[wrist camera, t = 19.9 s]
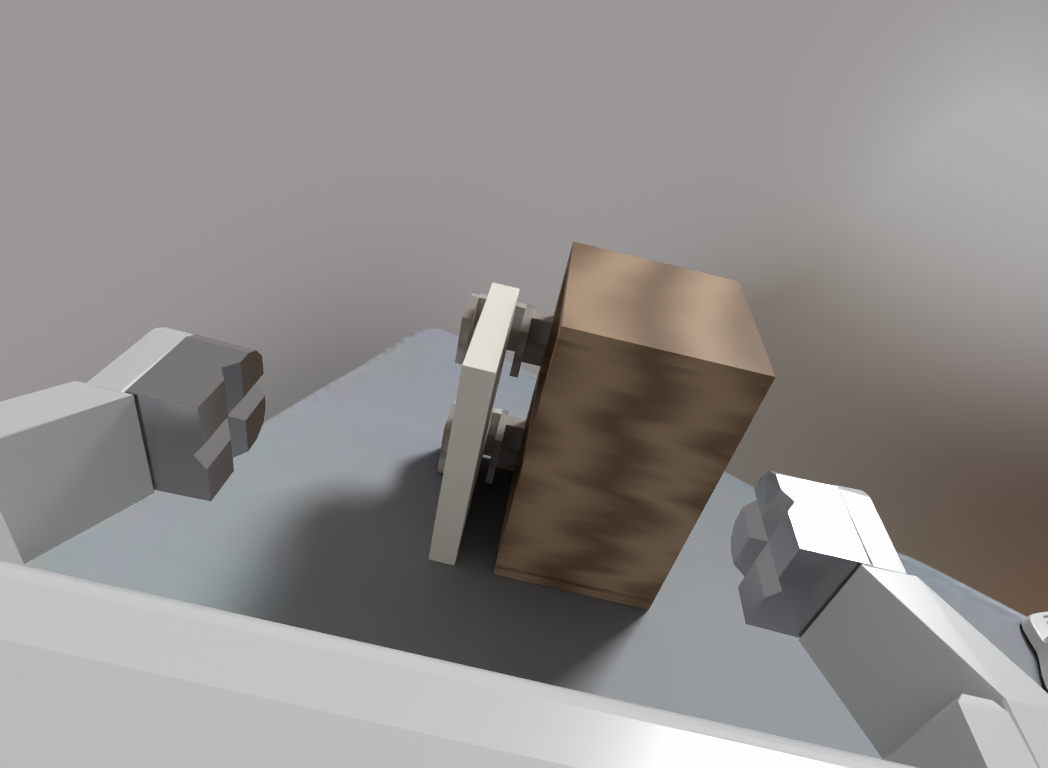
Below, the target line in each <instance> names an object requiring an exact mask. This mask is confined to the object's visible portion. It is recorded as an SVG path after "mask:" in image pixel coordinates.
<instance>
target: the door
mask: <svg viewBox="0 0 1048 768" xmlns="http://www.w3.org/2000/svg"><path fill="white" fill-rule="evenodd" d="M518 294H519V289H517V288H514V287H509V286H505V285H501V284H497V283H492V286H491V289H490V291H489V294H488V297H487V299H486V302H485V305H484V307H483V310H482V313H481V316H480V318H479V321H478V324H477V326H476V329H475V332H474V335H473V337H472V340H471V343H470V345H469V348H468V351H467V353H466V356H465V359H464V362H463V364H462V369H461V375H460V381H459V386H458V392H457V398H456V404H455V409H454V415H453V421H452V427H451V432H450V438H449V444H448V450H447V455H446V461H445V467H444V473H443V478H442V484H441V490H440V496H439V501H438V507H437V513H436V519H435V524H434V530H433V536H432V542H431V547H430V553H429V560H433V561H437V562H442V563H446V564H450V565H455V561H456V558H457V554H458V550H459V546H460V542H461V538H462V535H463V531H464V527H465V523H466V519H467V516H468V512H469V508H470V504H471V500H472V496H473V493H474V489H475V485H476V481H477V477H478V473H479V470H480V466H481V461H482V457H483V452H484V448H485V443H486V439H487V434H488V430H489V425H490V421H491V416H492V411H493V407H494V402H495V398H496V393H497V389H498V384H499V380H500V375H501V371H502V366H503V362H504V357H505V353H506V348H507V344H508V339H509V335H510V330H511V326H512V321H513V317H514V312H515V308H516V303H517V298H518Z"/></svg>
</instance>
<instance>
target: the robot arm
mask: <svg viewBox="0 0 1048 768" xmlns="http://www.w3.org/2000/svg"><path fill="white" fill-rule="evenodd" d="M262 375H263V363H262V356H261V355H260V354H259V353H258V352H257V351H256V350H253V349H249V348H245V347H241V346H238V345H233V344H230V343H226V342H222V341H218V340H214V339H210V338H206V337H202V336H199V335H192V334H190V333H186V332H181V331H178V330H173V329H169V328H165V327H161V328H155V329H153V330H151V331H150V332H149V333H148V334H147V335H145V336H144V337H143V338H142V339H140V340H139V341H138V342H137V343H135V344H134V345H133V346H132V347H131V348H129V349H128V350H127V351H125V352H124V353H123V354H122V355H120V356H119V357H118V358H117V359H116V360H114V361H113V362H112V363H110V364H109V365H108V366H107V367H105V368H104V369H103V370H102V371H100V372H99V373H98V374H97V375H96V376H94V377H93V378H92V379H91V380H89V381H88V382H87V383H82V382H77V381H74V382H70V383H67V384H63V385H59V386H55V387H52V388H48V389H45V390H41V391H38V392H34V393H30V394H27V395H23V396H19V397H16V398H12V399H9V400H5V401H2V402H0V768H1048V693H1047V692H1046V691H1044V690H1043V689H1042V688H1041V687H1040V686H1039V685H1038V684H1037V683H1036V682H1034V681H1033V680H1032V679H1031V678H1030V677H1029V676H1028V675H1027V674H1025V673H1024V672H1023V671H1022V670H1021V669H1020V668H1019V667H1018V666H1016V665H1015V664H1014V663H1013V662H1012V661H1011V660H1010V659H1009V658H1008V657H1006V656H1005V655H1004V654H1003V653H1002V652H1001V651H1000V650H999V649H997V648H996V647H995V646H994V645H993V644H992V643H991V642H990V641H989V640H987V639H986V638H985V637H984V636H983V635H982V634H981V633H980V632H978V631H977V630H976V629H975V628H974V627H973V626H972V625H971V624H969V623H968V622H967V621H966V620H965V619H964V618H963V617H962V616H961V615H959V614H958V613H957V612H956V611H955V610H954V609H953V608H952V607H950V606H949V605H948V604H947V603H946V602H945V601H944V600H943V599H942V598H940V597H939V596H938V595H937V594H936V593H935V592H934V591H933V590H931V589H930V588H929V587H928V586H927V585H926V584H925V583H924V582H922V581H921V580H920V579H919V578H918V577H917V576H913V575H909V574H907V573H906V571H905V569H904V567H903V565H902V563H901V561H900V559H899V557H898V555H897V553H896V551H895V549H894V546H893V544H892V542H891V540H890V538H889V536H888V534H887V532H886V530H885V528H884V526H883V524H882V521H881V519H880V517H879V515H878V513H877V511H876V509H875V507H874V505H873V503H872V501H871V499H870V497H869V496H868V495H867V494H866V493H865V492H863V491H861V490H856V489H852V488H847V487H842V486H837V485H832V484H831V485H827V484H823V483H819V482H815V481H810V480H806V479H802V478H797V477H793V476H789V475H784V474H780V473H776V472H771V471H768V472H767V473H766V474H764V475H763V476H762V477H761V478H760V480H759V481H758V483H757V485H756V486H755V488H754V489H755V493H756V497H757V500H756V501H754V502H752V503H750V504H748V505H746V506H744V507H743V508H742V510H741V511H740V513H739V515H738V517H737V519H736V521H735V524H734V528H733V532H732V537H731V552H732V558H733V563H734V565H735V566H736V567H737V568H738V569H739V571H740V572H741V573H742V574H743V575H744V576H745V577H744V579H743V580H742V582H741V583H740V585H739V587H738V588H739V593H740V598H741V603H742V608H743V613H744V617H745V622H746V624H748V625H752V626H756V627H760V628H764V629H768V630H772V631H775V632H779V633H783V634H787V635H791V636H795V637H799V638H800V639H799V641H800V643H801V644H802V646H803V647H804V649H805V650H806V651H807V653H808V654H809V656H810V657H811V658H812V660H813V661H814V663H815V664H816V665H817V667H818V668H819V670H820V671H821V672H822V674H823V675H824V677H825V678H826V679H827V681H828V682H829V684H830V685H831V687H832V688H833V689H834V691H835V692H836V694H837V695H838V696H839V698H840V699H841V701H842V702H843V703H844V705H845V706H846V708H847V709H848V710H849V712H850V713H851V715H852V716H853V718H854V719H855V720H856V722H857V723H858V725H859V726H860V727H861V729H862V730H863V732H864V733H865V734H866V736H867V737H868V739H869V740H870V741H871V743H872V744H873V746H874V747H875V749H876V750H877V751H878V753H879V754H880V756H881V757H882V758H883V759H878V758H874V757H869V756H865V755H861V754H856V753H852V752H847V751H843V750H838V749H834V748H830V747H825V746H821V745H816V744H812V743H808V742H803V741H799V740H794V739H790V738H785V737H781V736H777V735H772V734H768V733H763V732H759V731H755V730H750V729H746V728H741V727H737V726H732V725H728V724H723V723H719V722H715V721H710V720H706V719H701V718H697V717H692V716H688V715H683V714H679V713H674V712H670V711H666V710H661V709H657V708H652V707H648V706H643V705H639V704H634V703H630V702H626V701H621V700H617V699H612V698H608V697H603V696H599V695H594V694H590V693H586V692H581V691H577V690H572V689H568V688H563V687H559V686H554V685H550V684H546V683H541V682H537V681H532V680H528V679H524V678H519V677H515V676H510V675H506V674H501V673H497V672H493V671H488V670H484V669H479V668H475V667H471V666H466V665H462V664H457V663H453V662H449V661H444V660H440V659H435V658H431V657H426V656H422V655H418V654H413V653H409V652H404V651H400V650H396V649H391V648H387V647H382V646H378V645H374V644H369V643H365V642H360V641H356V640H351V639H347V638H343V637H338V636H334V635H329V634H325V633H321V632H316V631H312V630H307V629H303V628H298V627H294V626H290V625H285V624H281V623H276V622H272V621H267V620H263V619H259V618H254V617H250V616H245V615H241V614H237V613H232V612H228V611H223V610H219V609H214V608H210V607H206V606H201V605H197V604H192V603H188V602H183V601H179V600H175V599H170V598H166V597H161V596H157V595H152V594H148V593H144V592H139V591H135V590H130V589H126V588H121V587H117V586H113V585H108V584H104V583H99V582H95V581H90V580H86V579H82V578H77V577H73V576H68V575H64V574H59V573H55V572H51V571H46V570H42V569H37V568H33V567H29V566H25V565H24V564H25V563H27V562H28V561H30V560H32V559H34V558H36V557H37V556H39V555H41V554H43V553H45V552H47V551H48V550H50V549H52V548H54V547H56V546H58V545H59V544H61V543H63V542H65V541H67V540H69V539H70V538H72V537H74V536H76V535H78V534H80V533H81V532H83V531H85V530H87V529H89V528H91V527H92V526H94V525H96V524H98V523H100V522H102V521H103V520H105V519H107V518H109V517H111V516H113V515H114V514H116V513H118V512H120V511H122V510H124V509H125V508H127V507H129V506H131V505H133V504H135V503H136V502H138V501H140V500H142V499H144V498H146V497H147V496H149V495H151V494H153V493H154V490H158V491H163V492H168V493H173V494H178V495H183V496H188V497H193V498H198V499H203V500H208V501H212V499H213V498H214V497H215V495H216V494H217V493H218V491H219V490H220V488H221V487H222V486H223V484H224V483H225V482H226V480H227V479H228V478H229V476H230V475H231V474H232V472H233V471H234V468H233V458H234V457H236V456H238V455H241V454H243V453H245V452H247V451H249V449H250V448H251V446H252V445H253V443H254V442H255V441H256V439H257V437H258V434H259V432H260V429H261V427H262V424H263V421H264V415H265V395H264V394H263V393H262V391H261V390H260V389H259V387H258V386H257V385H256V382H257V381H258V379H259V378H260V377H261V376H262ZM1021 624H1022V628H1023V630H1024V632H1025V634H1026V636H1027V637H1028V639H1029V641H1030V642H1031V644H1032V645H1033V647H1034V649H1035V650H1036V652H1037V655H1038V658H1039V662H1040V668H1041V673H1042V677H1043V680H1044V683H1045V685H1046V688H1047V690H1048V611H1047V612H1042V613H1036V614H1032V615H1030V616H1028V617H1026V618H1025V619H1023V620H1022V622H1021Z"/></svg>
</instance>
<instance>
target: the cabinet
mask: <svg viewBox="0 0 1048 768" xmlns="http://www.w3.org/2000/svg"><path fill="white" fill-rule="evenodd" d="M487 297H488V295H484V294H480V293H475V292H473V293H472V295H471V298H470V300H469V303H468V305H467V307H466V310H465V312H464V315H463V317H462V323H461V329H460V335H459V341H458V348H457V354H456V360H455V363H458V364H463V362H464V359H465V356H466V353H467V351H468V348H469V345H470V343H471V340H472V337H473V335H474V332H475V329H476V326H477V324H478V321H479V318H480V316H481V313H482V310H483V307H484V305H485V302H486V299H487ZM533 309H534V306H530V305H526V304H522V303H518V302H517V303H516V308H515V312H514V317H513V321H512V326H511V330H510V335H509V339H508V344H507V348H506V350H510V351H515V355H514V359H513V364H512V368H511V372H510V376H514V377H518V373H519V369H520V365H521V362H525V363H530V364H534V365H538V366H540V370H539V374H538V377H537V381H536V385H535V389H534V392H533V396H532V400H531V404H530V408H529V411H528V415H527V419H526V420H524V419H520V418H516V417H511V416H508V414H509V411H505V410H501V409H496V408H493V411H492V416H491V421H490V425H489V430H488V434H487V439H486V443H485V448H484V452H483V454H484V455H488V456H491V459H490V463H489V468H488V472H487V477H486V481H485V483H489V484H492V482H493V478H494V473H495V469H496V467H499V468H503V469H507V470H512V471H513V474H512V480H511V485H510V490H509V495H508V500H507V505H506V511H505V516H504V521H503V526H502V531H501V536H500V542H499V547H498V552H497V557H496V562H495V567H494V573H493V574H494V575H499V576H503V577H507V578H512V579H516V580H520V581H525V582H529V583H534V584H538V585H542V586H547V587H551V588H555V589H560V590H564V591H568V592H573V593H577V594H582V595H586V596H590V597H595V598H599V599H603V600H608V601H612V602H616V603H621V604H625V605H630V606H634V607H638V608H643V609H647V610H649V608H650V606H651V604H652V603H653V601H654V599H655V597H656V595H657V593H658V592H659V590H660V588H661V586H662V584H663V582H664V581H665V579H666V577H667V575H668V573H669V571H670V570H671V568H672V566H673V564H674V562H675V560H676V559H677V557H678V555H679V553H680V551H681V549H682V548H683V546H684V544H685V542H686V540H687V538H688V537H689V535H690V533H691V531H692V529H693V527H694V526H695V524H696V522H697V520H698V518H699V516H700V514H701V513H702V511H703V509H704V507H705V505H706V503H707V502H708V500H709V498H710V496H711V494H712V492H713V491H714V489H715V487H716V485H717V483H718V481H719V480H720V478H721V476H722V474H723V472H724V470H725V469H726V467H727V465H728V463H729V461H730V459H731V457H732V456H733V454H734V452H735V450H736V448H737V446H738V445H739V443H740V441H741V439H742V437H743V436H744V433H745V432H746V430H747V428H748V426H749V425H750V423H751V421H752V419H753V417H754V415H755V413H756V412H757V410H758V408H759V406H760V404H761V402H762V401H763V399H764V396H765V395H766V393H767V391H768V390H769V388H770V386H771V384H772V382H773V380H774V378H775V374H774V372H773V369H772V367H771V364H770V361H769V359H768V356H767V353H766V351H765V348H764V346H763V343H762V340H761V338H760V335H759V333H758V330H757V328H756V325H755V322H754V320H753V317H752V314H751V312H750V309H749V306H748V304H747V301H746V299H745V296H744V293H743V291H742V288H741V286H740V283H739V281H735V280H731V279H726V278H722V277H718V276H713V275H710V274H705V273H701V272H697V271H693V270H689V269H685V268H680V267H676V266H672V265H668V264H664V263H660V262H655V261H651V260H647V259H643V258H639V257H635V256H630V255H626V254H622V253H618V252H614V251H609V250H605V249H601V248H597V247H593V246H589V245H585V244H580V243H576V242H573V245H572V248H571V252H570V256H569V260H568V263H567V267H566V271H565V275H564V279H563V282H562V286H561V290H560V294H559V298H558V302H557V305H556V309H555V313H554V315H552V314H548V313H543V312H539V311H535V310H533ZM455 404H456V399H454V402H453V405H452V408H451V411H450V413H449V416H448V419H447V422H446V425H445V428H444V433H443V439H442V446H441V452H440V458H439V464H438V470H437V472H441V473H444V467H445V461H446V455H447V450H448V444H449V438H450V432H451V427H452V421H453V415H454V409H455Z"/></svg>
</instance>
